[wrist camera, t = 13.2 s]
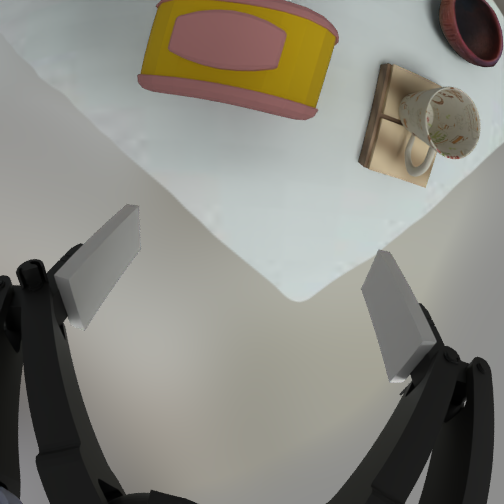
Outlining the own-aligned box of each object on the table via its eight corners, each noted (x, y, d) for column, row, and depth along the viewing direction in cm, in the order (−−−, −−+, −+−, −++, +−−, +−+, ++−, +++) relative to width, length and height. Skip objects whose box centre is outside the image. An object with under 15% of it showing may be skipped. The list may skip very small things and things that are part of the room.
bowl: (492, 39, 22) (520, 38, 15) (468, 79, 28) (497, 82, 21) (429, -27, 18) (451, -40, 12) (399, 10, 25) (421, -3, 18)
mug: (446, 102, 28) (487, 110, 20) (420, 176, 35) (454, 201, 26) (399, 75, 28) (436, 73, 19) (373, 155, 34) (402, 176, 26)
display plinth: (380, 65, 30) (390, 62, 27) (440, 91, 31) (453, 93, 27) (358, 162, 39) (365, 168, 35) (416, 180, 39) (427, 189, 36)
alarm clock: (178, 88, 35) (107, 90, 19) (195, 22, 29) (136, -20, 13) (302, 116, 36) (324, 132, 20) (322, 48, 30) (360, 12, 14)
